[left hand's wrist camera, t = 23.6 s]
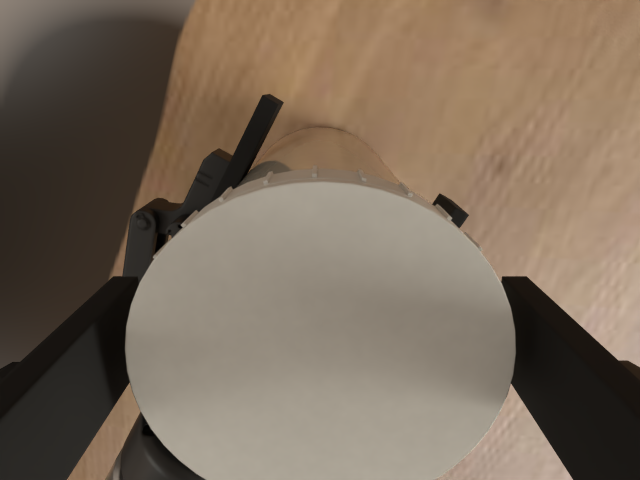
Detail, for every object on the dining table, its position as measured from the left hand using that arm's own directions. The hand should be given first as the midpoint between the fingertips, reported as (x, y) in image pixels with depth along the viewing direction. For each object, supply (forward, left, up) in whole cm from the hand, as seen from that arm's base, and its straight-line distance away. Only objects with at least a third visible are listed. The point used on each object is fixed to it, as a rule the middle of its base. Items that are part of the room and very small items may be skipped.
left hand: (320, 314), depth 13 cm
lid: (0, 0, +3) cm, 3 cm away
